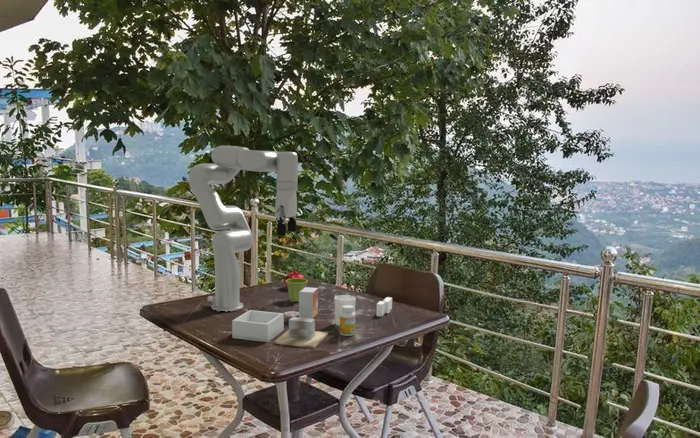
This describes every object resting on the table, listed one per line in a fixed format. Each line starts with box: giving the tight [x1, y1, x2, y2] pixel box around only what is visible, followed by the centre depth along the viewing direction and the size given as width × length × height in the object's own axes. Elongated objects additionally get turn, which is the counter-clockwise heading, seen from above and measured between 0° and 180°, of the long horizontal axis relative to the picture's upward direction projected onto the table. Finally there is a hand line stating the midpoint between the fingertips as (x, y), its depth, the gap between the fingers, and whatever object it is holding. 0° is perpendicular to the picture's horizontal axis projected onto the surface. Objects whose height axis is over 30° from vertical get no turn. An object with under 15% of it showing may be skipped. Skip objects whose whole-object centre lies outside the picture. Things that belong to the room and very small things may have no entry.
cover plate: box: [273, 316, 329, 349], centre depth 171 cm, size 14×14×7 cm
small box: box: [298, 286, 319, 319], centre depth 197 cm, size 8×6×10 cm
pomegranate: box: [283, 268, 306, 289], centre depth 241 cm, size 10×10×9 cm
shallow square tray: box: [231, 309, 285, 343], centre depth 175 cm, size 13×13×6 cm
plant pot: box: [286, 278, 309, 303], centre depth 219 cm, size 9×9×9 cm
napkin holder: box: [376, 296, 393, 317], centre depth 204 cm, size 15×11×6 cm
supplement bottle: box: [339, 305, 357, 337], centre depth 177 cm, size 5×5×10 cm
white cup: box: [333, 294, 357, 327], centre depth 188 cm, size 8×8×10 cm
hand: (286, 233), depth 186 cm, fingers open, 9 cm apart
